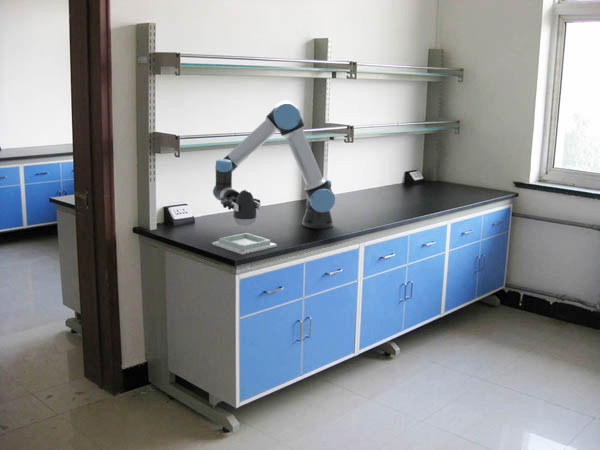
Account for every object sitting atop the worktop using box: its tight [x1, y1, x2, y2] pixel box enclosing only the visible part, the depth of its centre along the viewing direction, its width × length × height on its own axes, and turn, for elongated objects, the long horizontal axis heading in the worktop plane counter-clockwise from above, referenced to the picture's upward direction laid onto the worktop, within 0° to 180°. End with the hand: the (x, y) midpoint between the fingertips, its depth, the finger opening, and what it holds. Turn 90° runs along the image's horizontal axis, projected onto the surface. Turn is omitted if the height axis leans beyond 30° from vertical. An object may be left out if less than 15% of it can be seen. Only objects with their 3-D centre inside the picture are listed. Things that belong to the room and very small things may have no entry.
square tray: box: [211, 232, 278, 255], centre depth 289 cm, size 20×20×4 cm
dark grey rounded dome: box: [232, 189, 258, 227], centre depth 285 cm, size 10×10×15 cm
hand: (248, 207), depth 281 cm, fingers closed on dark grey rounded dome, 9 cm apart
